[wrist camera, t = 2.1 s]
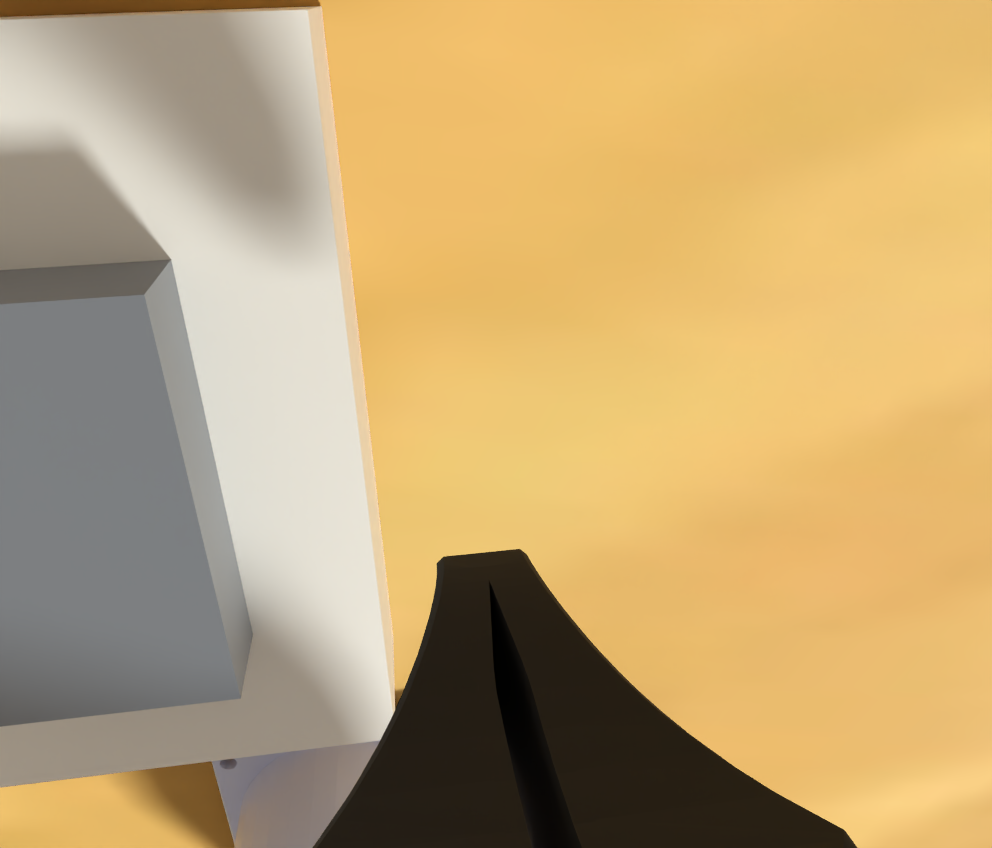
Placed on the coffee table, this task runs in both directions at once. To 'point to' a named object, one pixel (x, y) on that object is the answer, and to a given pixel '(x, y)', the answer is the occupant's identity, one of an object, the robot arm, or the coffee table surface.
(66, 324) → the gray rectangular block
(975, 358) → the coffee table surface
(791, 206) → the coffee table surface
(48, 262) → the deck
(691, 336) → the coffee table surface
